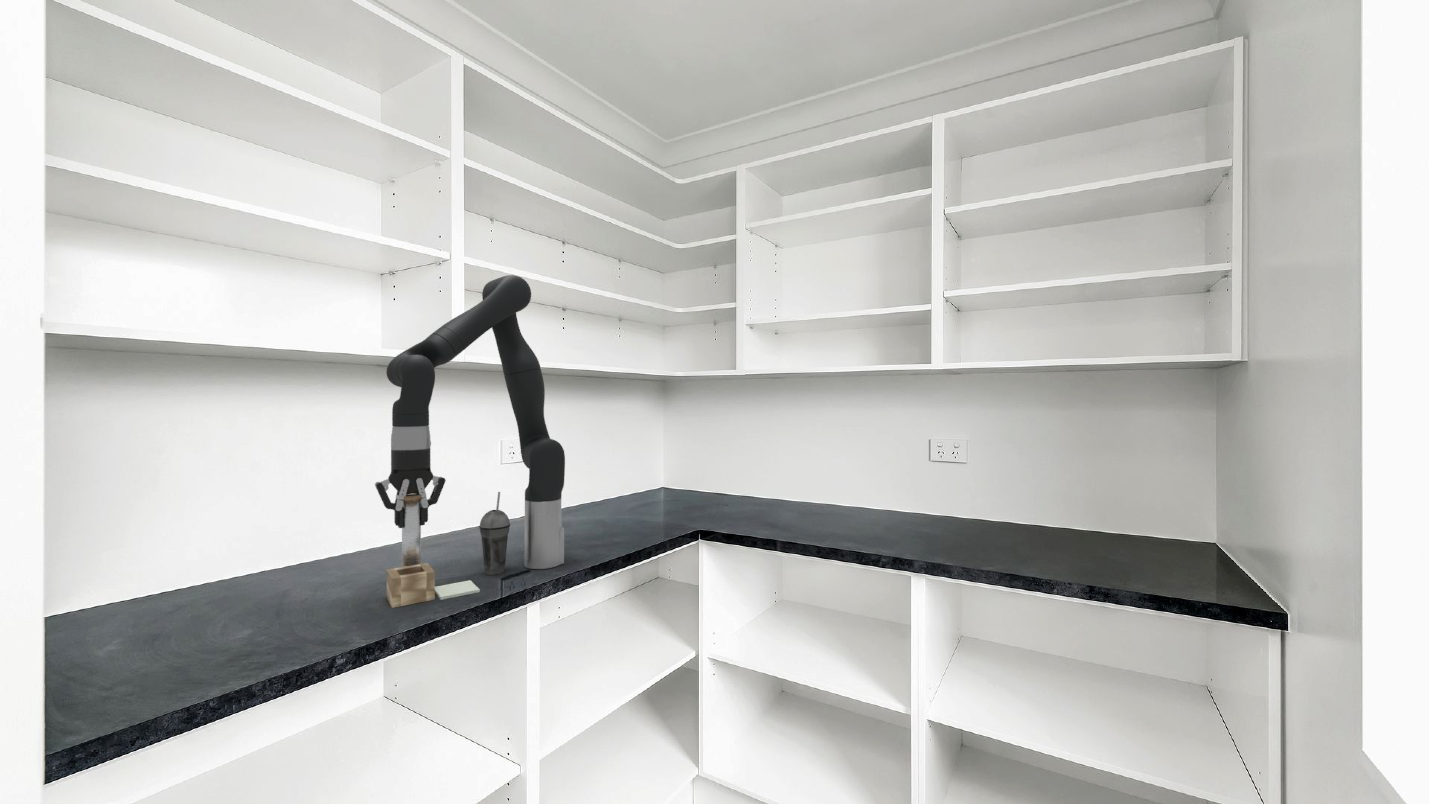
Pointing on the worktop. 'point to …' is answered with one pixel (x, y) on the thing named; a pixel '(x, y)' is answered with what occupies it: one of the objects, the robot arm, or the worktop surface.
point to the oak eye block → (410, 585)
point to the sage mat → (456, 589)
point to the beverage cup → (494, 540)
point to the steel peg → (411, 530)
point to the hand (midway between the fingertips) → (411, 525)
